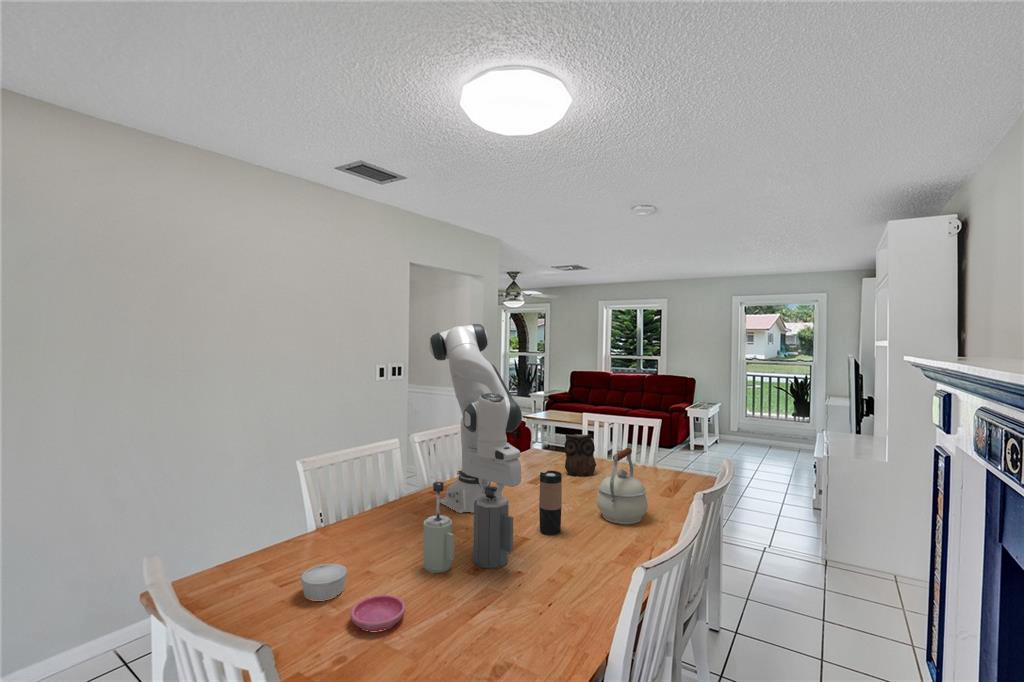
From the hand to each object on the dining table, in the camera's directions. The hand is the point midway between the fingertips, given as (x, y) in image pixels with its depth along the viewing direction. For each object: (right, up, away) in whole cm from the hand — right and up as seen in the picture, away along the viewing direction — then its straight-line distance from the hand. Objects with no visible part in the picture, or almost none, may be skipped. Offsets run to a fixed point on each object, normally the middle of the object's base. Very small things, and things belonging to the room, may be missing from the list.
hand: (491, 495), depth 147 cm
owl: (+40, -19, +95) cm, 105 cm away
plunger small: (-15, -5, -4) cm, 17 cm away
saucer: (-25, -20, -31) cm, 45 cm away
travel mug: (+19, -20, +23) cm, 36 cm away
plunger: (0, -11, 0) cm, 11 cm away
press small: (-15, -20, -5) cm, 25 cm away
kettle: (+48, -20, +38) cm, 64 cm away
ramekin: (-43, -20, -19) cm, 51 cm away
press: (+1, -20, -1) cm, 20 cm away
